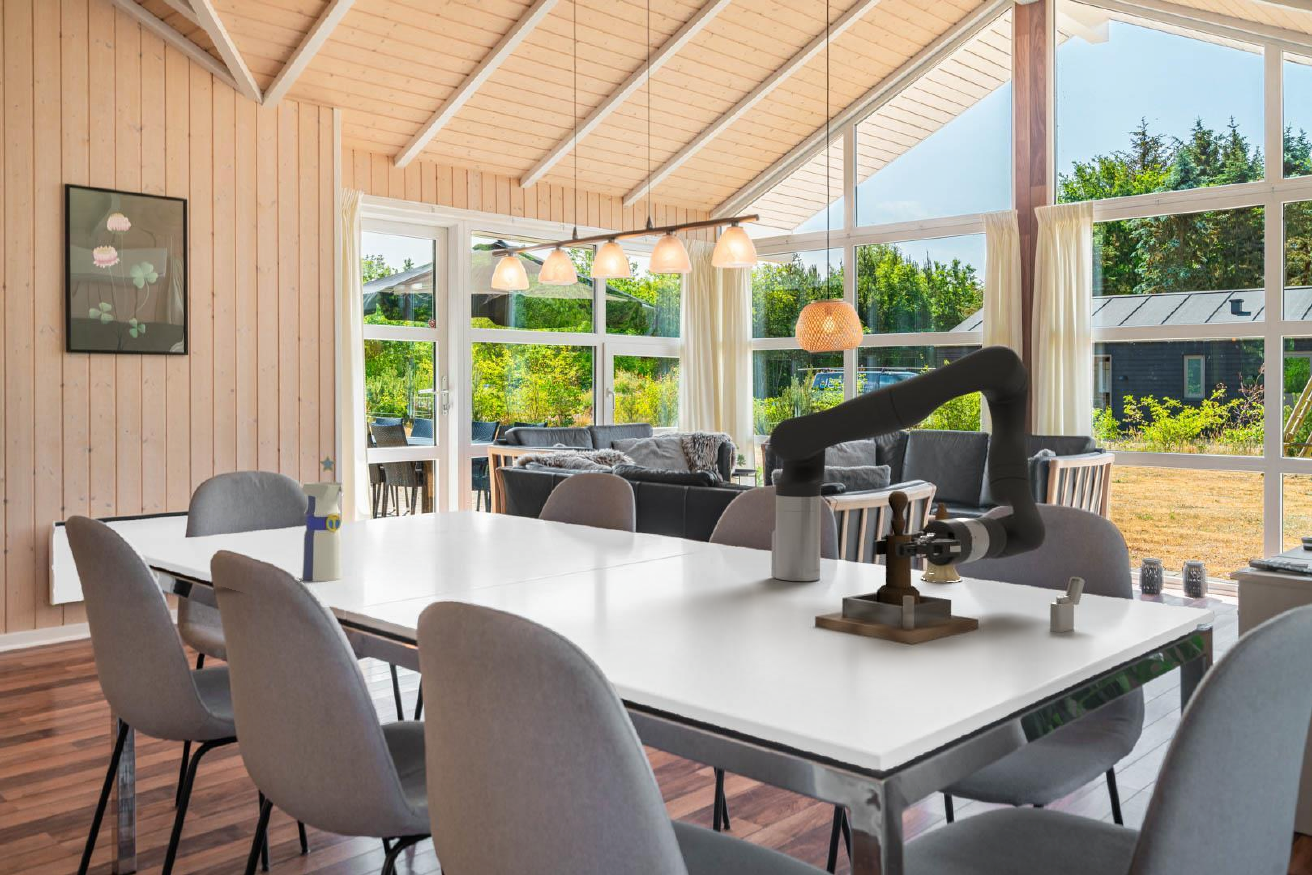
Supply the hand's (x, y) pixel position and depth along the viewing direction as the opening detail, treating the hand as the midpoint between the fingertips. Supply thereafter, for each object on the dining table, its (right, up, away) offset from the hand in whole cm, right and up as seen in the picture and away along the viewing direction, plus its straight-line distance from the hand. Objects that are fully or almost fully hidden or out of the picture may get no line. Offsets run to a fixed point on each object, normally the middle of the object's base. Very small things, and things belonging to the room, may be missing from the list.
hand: (886, 549), depth 162 cm
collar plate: (+2, -12, +2) cm, 13 cm away
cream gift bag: (-103, -11, +48) cm, 115 cm away
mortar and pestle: (+2, -9, +2) cm, 10 cm away
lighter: (+29, -13, +2) cm, 32 cm away
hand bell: (+23, -12, +53) cm, 59 cm away
